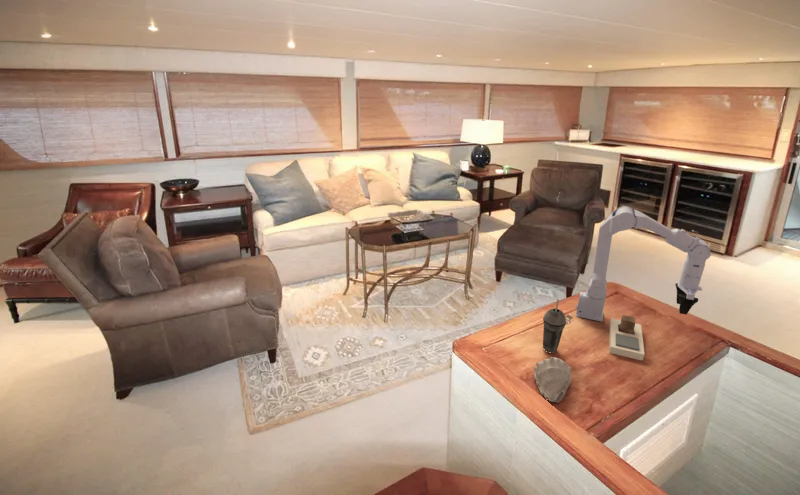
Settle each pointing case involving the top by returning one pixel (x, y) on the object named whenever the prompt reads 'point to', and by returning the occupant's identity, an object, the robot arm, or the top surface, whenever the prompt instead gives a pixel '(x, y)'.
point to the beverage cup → (553, 328)
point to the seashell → (552, 378)
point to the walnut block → (627, 324)
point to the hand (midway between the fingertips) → (681, 308)
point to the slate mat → (627, 341)
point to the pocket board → (636, 333)
